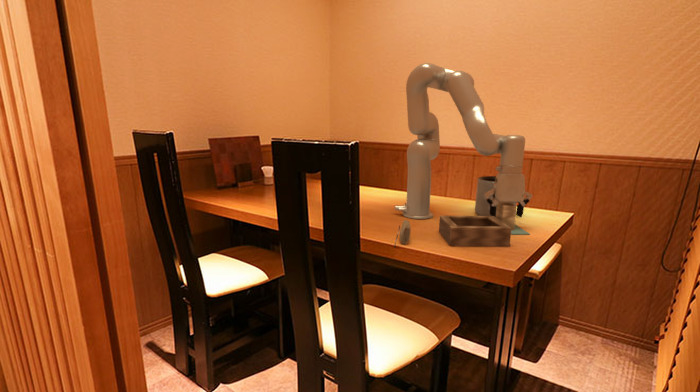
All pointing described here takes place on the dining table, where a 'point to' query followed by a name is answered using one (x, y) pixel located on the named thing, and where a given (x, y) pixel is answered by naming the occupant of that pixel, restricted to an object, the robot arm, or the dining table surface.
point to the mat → (518, 231)
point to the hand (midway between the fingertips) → (505, 216)
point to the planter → (482, 187)
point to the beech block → (506, 213)
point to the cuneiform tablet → (404, 232)
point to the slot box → (474, 231)
